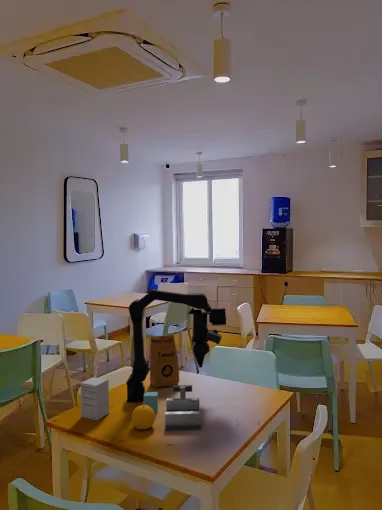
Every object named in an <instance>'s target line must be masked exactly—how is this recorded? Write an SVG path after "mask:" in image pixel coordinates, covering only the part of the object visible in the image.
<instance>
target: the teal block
mask: <svg viewBox="0 0 382 510" xmlns="http://www.w3.org/2000/svg"><path fill="white" fill-rule="evenodd" d="M158 392H159V391H150V392H149V391H148V392H147V391H145V393H144V399H143V405H148V406H150V407H151V408H152V409H153V411H154V413H157V412H158V410H159V395H158V394H159V393H158Z"/></svg>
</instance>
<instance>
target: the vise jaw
mask: <svg viewBox="0 0 382 510" xmlns="http://www.w3.org/2000/svg"><path fill="white" fill-rule="evenodd" d="M172 387H173V389H172V390H173V393H179V397H174V398H173V397H172V398H168V397H167V398H166V411H167V410H191V409H199V410H200V397H186V393H189V392H190V393H193V384H183V385H181V384H180V385H179V384H178V385H173V386H172Z"/></svg>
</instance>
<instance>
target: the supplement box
mask: <svg viewBox="0 0 382 510" xmlns="http://www.w3.org/2000/svg"><path fill="white" fill-rule="evenodd" d="M109 385H110V384H109V379H107V378H100V377H91V378H89V379H86V380H84V381H83V382H80V408H81V409H80V411H81V413H80V414H81V418H84V419H89V420H94V421H99V420H100V419H102V418H103V417H105V416H107V415H108V414H110V396H109V395H110V394H109V393H110V392H109V387H110V386H109Z"/></svg>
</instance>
